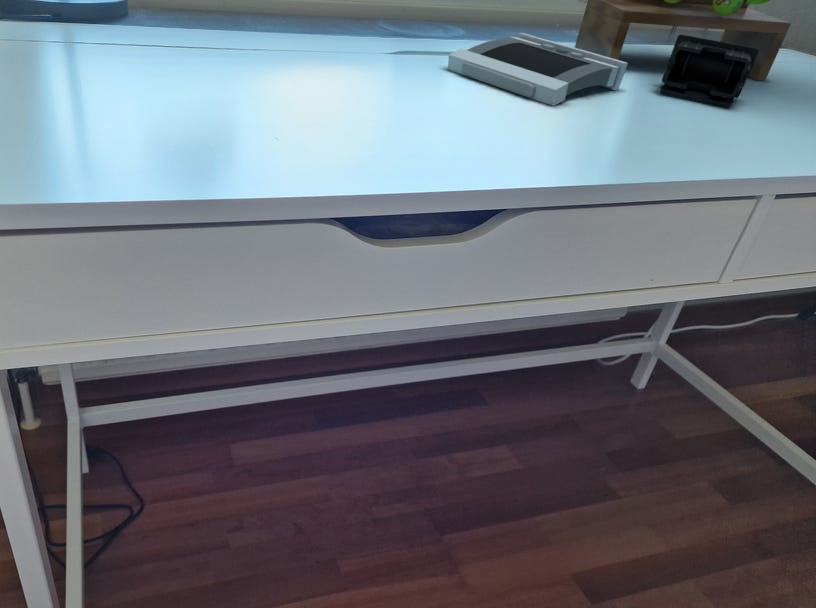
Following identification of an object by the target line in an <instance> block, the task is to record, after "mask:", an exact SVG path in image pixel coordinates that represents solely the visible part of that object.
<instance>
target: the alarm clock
mask: <svg viewBox="0 0 816 608" xmlns="http://www.w3.org/2000/svg"><path fill="white" fill-rule="evenodd" d="M628 64H629V63H628V61H627V62H626V61H623V60H620V59H618V60H616V59H613V58H609V57H606V56H602V55H599V54H595V53H591V52H588V51H584V50H581V49H577V48H575V46H570V45H566V44H563V43H559V42H556V41H553V40H549V39H546V38H541V37H538V36H535V35H531V34H528V33H524V32H517V35H516V36H509V37H508V38H497V39H493V40H489V41H486V42H483V43H480V44H477V45H474V46H473V47H470V48H468V49H464V48H460V49H458V50H455V51H453V52H451V53H449V54H448V61H447V70H449V71H452V72H454V73H457V74H460V75H463V76H466V77H469V78H471V79H474V80H477V81H480V82H483V83H486V84H489V85H490V86H491V85H492V86H494V87H497V88H500V89H503V90H506V91H508V92H512V93H514V94H518V95H520V96H523V97H526V98H529V99H532V100H534V101H537V102H541V103H543V104H545V105H549V106H551V107H553V106H555V105H558V104H560V103H562V102H564V101H565V100H566V96H568V95H570V94H573V93H574V92H577V91H580V90H582V89H585V88H591V87H596V86H600V87H603V88H607V89H609V90H613V91H619V89H620V86H621V84H622V81H623V78H624V75H625V72H626V70H627V67H628Z"/></svg>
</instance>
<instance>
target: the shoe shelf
mask: <svg viewBox="0 0 816 608" xmlns="http://www.w3.org/2000/svg"><path fill="white" fill-rule="evenodd" d="M749 6H750V4H746V3H745V2H744V0H743V3H742V5H741V7H740V8H739V9H738V10H737V11H736V12H735V13H733V14H730V15H726V16H723V15H719V14H717V13H716V12H715V11H714V9H713V0H681V1H679V2H677V3H668V2H666V1H664V0H587V2H586V6H585V9H584V13H583V17H582V20H581V24H580V27H579V31H578V34H577V37H576V41H575V44H574V45H575V46H574V48H577V49H581V50H584V51H588V52H591V53H595V54H599V55H602V56H606V57H609V58H613V59H616V60H620V56H621V53H622V49H623V46H624V44H625V40H626V37H627V34H628V32H629V28H630V25H631V24H640V25H653V26H654V25H655V26H668V27H682V28H696V29H697V28H698V29H709V30H722V31H724V32H723V33H722V36H721V38H720V41H719V42H725V43H730V44H736V45H741V46H746V47H752V48H757V49H759V52H758V55H757V57H756V59H755V62H754V64H753V66H752V68H751V71H750V73H749V75H748V78H751V79H754V80H755V81H766V80H767V78H768V75H769V74H770V71H771V69H772V67H773V64H774V62H775V61H776V58H777V55H778V53H779V52H780V49H781V47H782V45H783V42H784V40H785V38H786V36H787V34H788V32H789V29H790V28H791V25H792V23H791V22H790V21H787V20H783V19H781V18H778V17H775V16H772V15H769V14H766V13H763V12H761V11H757V10H755V9H752V8H749Z"/></svg>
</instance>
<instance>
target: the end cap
mask: <svg viewBox="0 0 816 608" xmlns="http://www.w3.org/2000/svg"><path fill="white" fill-rule="evenodd" d="M758 52H759V49H757V48H752V47H746V46H741V45H736V44H730V43H725V42H720V41H719V40H714V39H708V38H702V37H698V36H697V37H695V36H691V35H687V34H679V35H677V37H676V40H675V43H674V45H673V48H672V51H671V53H670V56H669V59H668V62H667V64H666V67H665V70H664V73H663V75H662V78H661V82H662V83H663V84H662V86H661V87H660V89H659V94H660V95H663V96H667V97H673V98H676V99H681V100H682V99H683V100H686V101H691V102H696V103H700V104H704V105H709V106H714V107H718V108H723V109H731V108H732V105H733V102H734V100H735V99H739V98H740V96H741V94H742V91H743V89H744V87H745V84H746V82H747V79H748V78H749V76H748V75H749V73H750V71H751V68H752V66H753V64H754V62H755V59H756V57H757V55H758Z"/></svg>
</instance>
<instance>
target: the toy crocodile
mask: <svg viewBox="0 0 816 608" xmlns="http://www.w3.org/2000/svg"><path fill="white" fill-rule="evenodd" d="M664 1H666V2H668V3H677V2H679V1H681V0H664ZM770 1H771V0H744V2H745V3H746V4H749V5H753V6H754V5H762V4H767V3H768V2H770ZM742 3H743V0H713V9H714V11H715V12H716V13H717V14H719V15H723V16H726V15H730V14H733V13H735V12H736V11H737V10H738V9H739V8H740V7H741V5H742Z"/></svg>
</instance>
